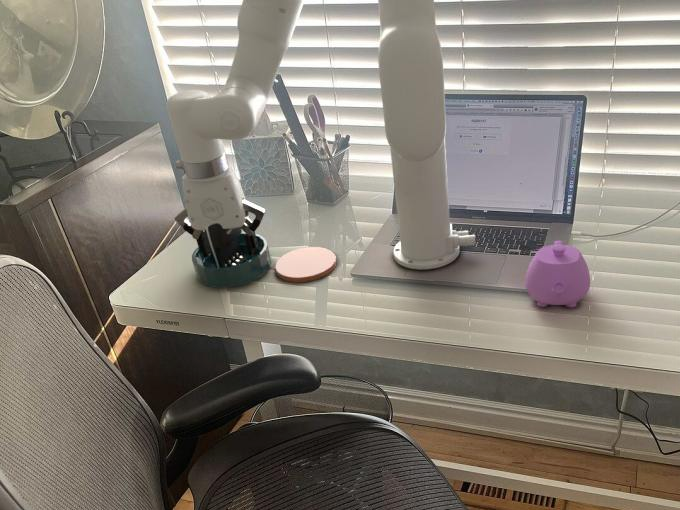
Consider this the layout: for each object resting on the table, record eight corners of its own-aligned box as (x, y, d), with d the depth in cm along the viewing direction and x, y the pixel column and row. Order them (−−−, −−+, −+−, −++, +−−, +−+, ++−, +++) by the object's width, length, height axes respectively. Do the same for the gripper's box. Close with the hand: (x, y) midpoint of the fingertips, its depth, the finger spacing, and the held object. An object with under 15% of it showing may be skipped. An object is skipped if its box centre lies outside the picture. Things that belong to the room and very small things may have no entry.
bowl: (278, 250, 138) (273, 230, 135) (263, 288, 126) (258, 266, 124) (209, 254, 139) (203, 234, 136) (189, 292, 128) (182, 271, 125)
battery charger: (233, 278, 129) (218, 223, 122) (216, 276, 130) (200, 221, 124) (252, 259, 134) (238, 206, 127) (235, 257, 135) (221, 204, 129)
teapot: (588, 275, 119) (591, 227, 113) (590, 326, 107) (594, 274, 101) (526, 275, 121) (527, 227, 115) (522, 324, 109) (523, 273, 104)
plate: (339, 249, 135) (339, 244, 135) (332, 280, 126) (331, 275, 125) (282, 253, 136) (281, 248, 136) (270, 284, 127) (269, 279, 127)
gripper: (151, 177, 118) (180, 265, 128) (249, 170, 116) (271, 260, 126) (165, 160, 124) (191, 246, 134) (259, 153, 122) (278, 240, 133)
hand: (230, 252), depth 130 cm, fingers open, 8 cm apart
